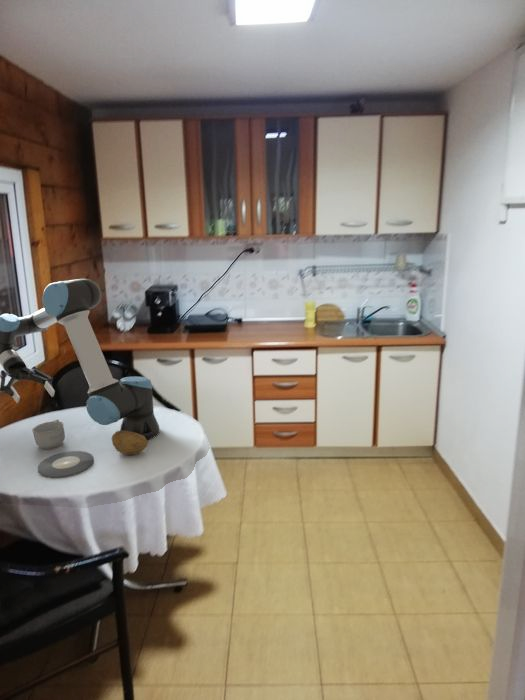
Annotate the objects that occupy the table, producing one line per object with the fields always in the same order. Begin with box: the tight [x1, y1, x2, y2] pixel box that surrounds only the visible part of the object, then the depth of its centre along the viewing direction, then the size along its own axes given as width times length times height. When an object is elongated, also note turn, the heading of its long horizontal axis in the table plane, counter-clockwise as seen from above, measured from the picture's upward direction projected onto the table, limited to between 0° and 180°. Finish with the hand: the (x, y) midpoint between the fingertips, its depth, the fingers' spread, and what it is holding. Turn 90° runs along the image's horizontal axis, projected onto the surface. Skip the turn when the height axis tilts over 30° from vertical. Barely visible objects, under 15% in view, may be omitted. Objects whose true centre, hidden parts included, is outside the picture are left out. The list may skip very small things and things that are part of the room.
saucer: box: [37, 450, 95, 479], centre depth 171 cm, size 18×18×1 cm
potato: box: [111, 430, 148, 456], centre depth 178 cm, size 10×14×8 cm
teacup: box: [32, 419, 66, 450], centre depth 187 cm, size 14×11×8 cm
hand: (36, 397), depth 189 cm, fingers open, 13 cm apart
